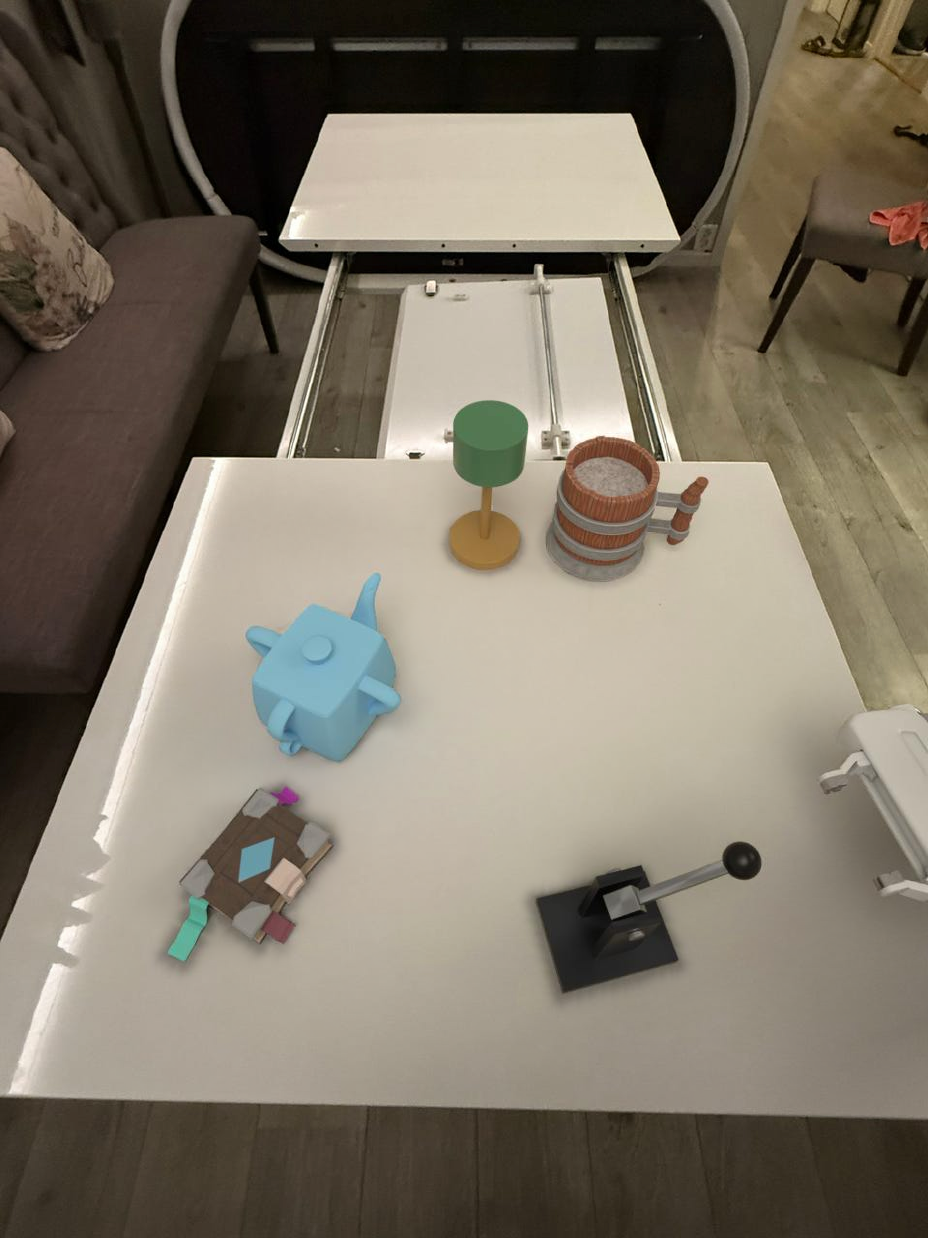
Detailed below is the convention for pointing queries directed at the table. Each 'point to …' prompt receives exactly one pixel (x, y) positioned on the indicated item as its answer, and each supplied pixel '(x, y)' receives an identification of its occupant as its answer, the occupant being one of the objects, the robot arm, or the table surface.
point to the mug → (613, 508)
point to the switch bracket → (602, 933)
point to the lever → (685, 881)
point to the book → (253, 870)
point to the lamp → (487, 480)
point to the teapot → (324, 677)
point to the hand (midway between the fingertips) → (850, 833)
